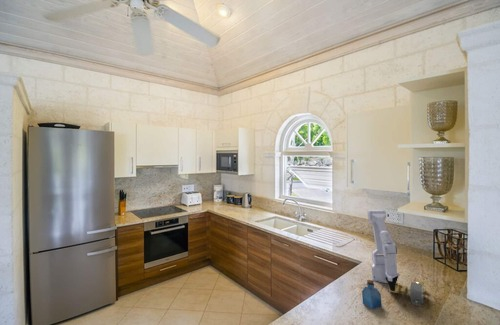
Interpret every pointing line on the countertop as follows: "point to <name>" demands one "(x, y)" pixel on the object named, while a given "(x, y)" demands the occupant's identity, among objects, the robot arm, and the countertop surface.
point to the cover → (422, 284)
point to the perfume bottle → (371, 295)
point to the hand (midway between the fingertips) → (392, 289)
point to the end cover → (400, 289)
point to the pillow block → (416, 293)
